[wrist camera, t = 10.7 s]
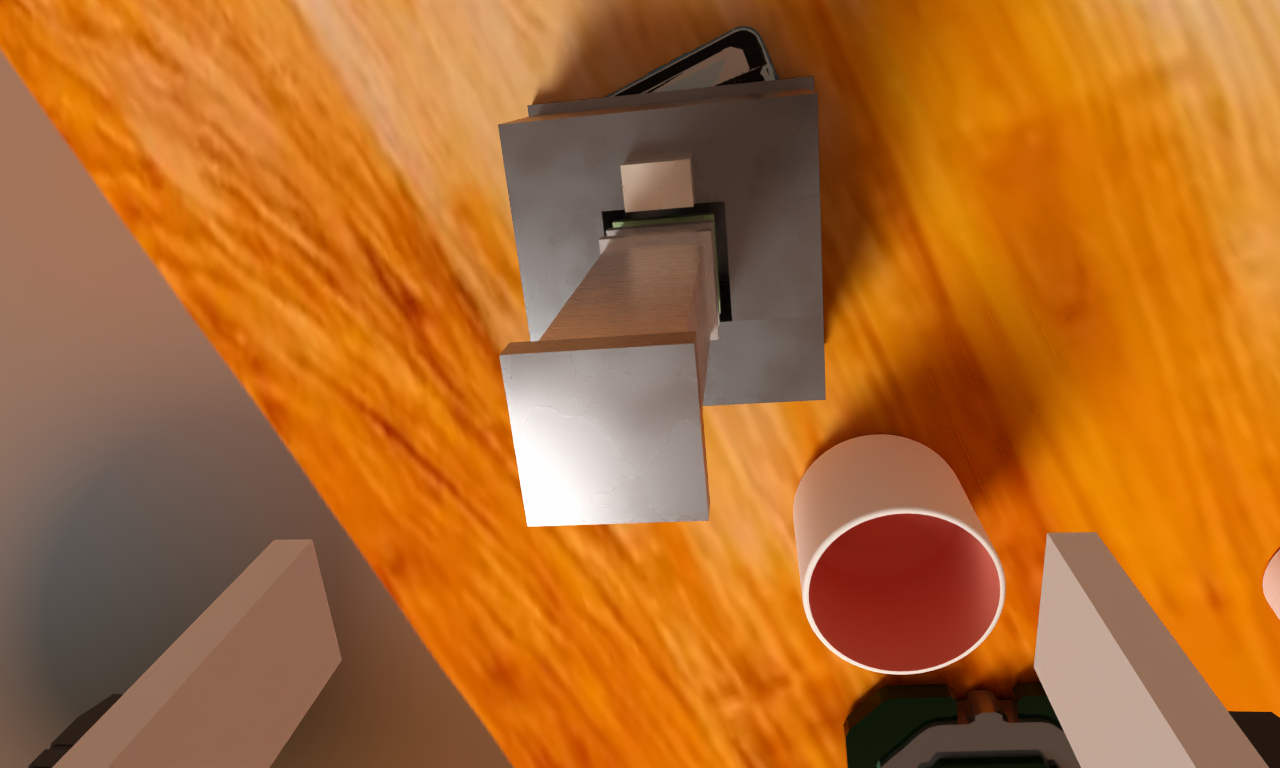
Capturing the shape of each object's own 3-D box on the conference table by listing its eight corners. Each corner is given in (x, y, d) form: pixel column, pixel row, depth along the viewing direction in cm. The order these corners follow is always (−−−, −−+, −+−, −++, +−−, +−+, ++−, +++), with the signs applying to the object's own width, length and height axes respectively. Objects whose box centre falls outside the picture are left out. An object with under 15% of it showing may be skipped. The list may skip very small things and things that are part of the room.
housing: (531, 104, 46) (475, 116, 37) (812, 76, 44) (832, 79, 34) (567, 364, 51) (526, 435, 42) (820, 349, 49) (839, 421, 40)
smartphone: (502, 150, 47) (752, 17, 43) (506, 148, 48) (753, 18, 44) (564, 269, 49) (809, 153, 45) (567, 266, 50) (808, 151, 46)
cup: (891, 394, 50) (926, 470, 41) (992, 512, 52) (1047, 610, 43) (758, 489, 53) (762, 580, 44) (857, 597, 55) (881, 706, 46)
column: (615, 213, 40) (499, 355, 21) (717, 205, 40) (694, 343, 20) (626, 310, 42) (527, 526, 23) (723, 304, 41) (708, 520, 22)
